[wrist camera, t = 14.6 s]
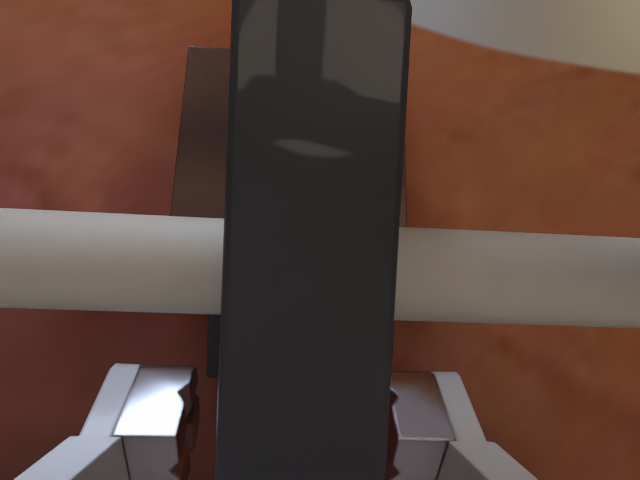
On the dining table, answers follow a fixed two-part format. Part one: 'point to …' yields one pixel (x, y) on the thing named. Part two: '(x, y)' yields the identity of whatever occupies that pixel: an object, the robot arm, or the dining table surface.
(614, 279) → the hanger stand
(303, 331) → the black hanger
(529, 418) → the dining table surface
